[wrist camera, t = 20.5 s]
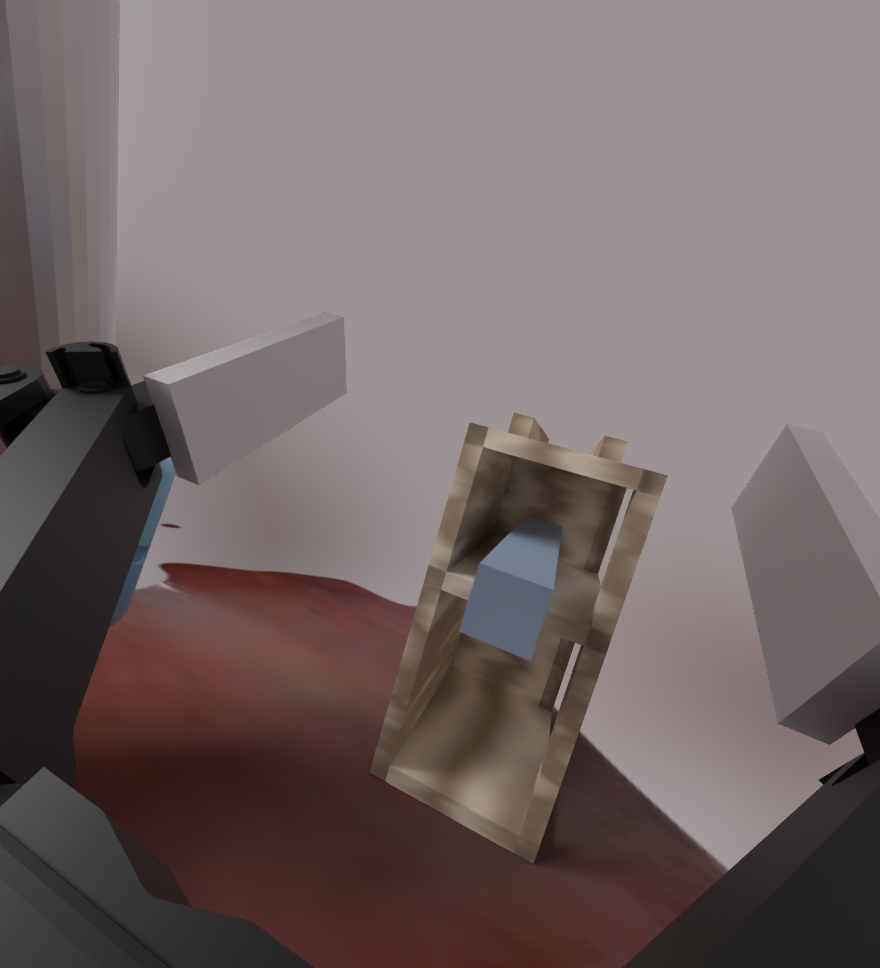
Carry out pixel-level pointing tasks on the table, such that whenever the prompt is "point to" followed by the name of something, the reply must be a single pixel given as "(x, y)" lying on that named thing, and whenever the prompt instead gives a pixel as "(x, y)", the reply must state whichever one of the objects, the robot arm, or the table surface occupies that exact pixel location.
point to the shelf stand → (495, 672)
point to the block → (514, 588)
